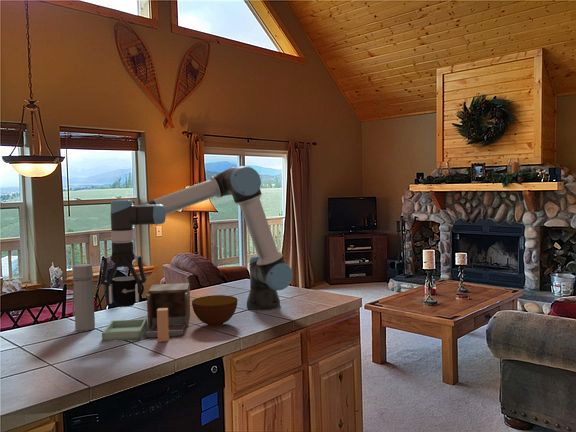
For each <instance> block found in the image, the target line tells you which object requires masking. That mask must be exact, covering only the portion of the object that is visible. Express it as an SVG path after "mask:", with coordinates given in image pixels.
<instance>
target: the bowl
mask: <svg viewBox="0 0 576 432" xmlns="http://www.w3.org/2000/svg"><path fill="white" fill-rule="evenodd" d="M238 301H239V299H238V298H237V297H235V296H232V295H223V294H216V295H205V296H198V297H197V298H195V299H192V301H191V307H192V310H193V313H194V314H195V316H196V318H197V319H198V320H199V321H200V322H202V323H204V324H206V325H207V327H208V328H210V329H211V328H212V329H215V328H221V327H224V324H225V323H227V322H228V321H229V320H231V318H232V317H233V316H234V314H235V312H236V310H237V308H238Z"/></svg>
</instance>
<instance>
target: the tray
mask: <svg viewBox="0 0 576 432" xmlns="http://www.w3.org/2000/svg"><path fill="white" fill-rule="evenodd" d="M146 329H148V318H140V319H139V318H138V319H117V320H111V321H110V322H109V324H108V325H107V326H106V328H105V329H104V330H103V331H102V333H101V341H102V342H111V341H112V342H114V340H118V341H131V340H133V341H134V340H135V341H136V340H142V337H143V335H144V334H145V332H146V331H147V330H146Z"/></svg>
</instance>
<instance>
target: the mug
mask: <svg viewBox="0 0 576 432" xmlns="http://www.w3.org/2000/svg"><path fill="white" fill-rule="evenodd" d="M111 283H112V284H111V285H112V286H113V302H114V304H115V305H116V307H119V308H127V307H128V308H129V307H132V306H134V305H135V304H136V295H135V285H136V284H137V282H136V280H135V279H134V277H133V276H117V277H113V279H112V281H111ZM143 284H144V283H142V284H141V287H142V291H141V293H139V298H140V297H141V296H142V295H143V293H144V291H145V287H144V285H143Z"/></svg>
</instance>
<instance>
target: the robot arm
mask: <svg viewBox="0 0 576 432" xmlns="http://www.w3.org/2000/svg"><path fill="white" fill-rule="evenodd" d="M261 179H262V178H261V176H260V174H259V172H258V171H257V170H256V169H255V168H252V167H250V166H246V165H239V166H234V167H233V166H232V167H230V168H227V169H225V170H223V171H222V172H221V171H220V172H219V173H216V174H215V175H212V176H210V177H209V179H208V180H205V181H202V182H198V183H196V184H194V185H191V186H188V187H185V188H182V189H179V190H177V191H174V192H172V193H169V194H168V193H167V194H166V195H163V196H161V197H160V196H159V197H157V198H154V199H152V200H148V201H146V202H141V203H138V204H133V201H132V200H131V199H116V200H115V199H113V200H112V201H111V203H110V228H111V230H110V233H111V234H110V235H111V236H110V237H111V255H110V256H105V257H103V259H102V260H103V267H102V272H101V273H102V274H101V277H100V282H99V283H100V284H101V285H105V293H106V295H108V296H109V297H108V300H109V301H108V302H109V304H112V303H114V295H113V286H112V284H111V283H112V279H113V278H115V274H116V273H117V270H118V268H122V267H124V268H128V270H129V271H130V273H131V275H132V277H134V279H135V280H136V282H137V284H136V285H135V295H136V301H135V303H139V302H140V297H139V294H140V293H141V291H142V287H141V284H145V283H146V281H147V276H146V273H145V269H144V265H143V255H135V253H134V242H133V240H134V232H133V231H134V230H133V229H134V227H133V226H138V225H140V226H142V225H144V226H145V225H146V226H147V225H161V224H164V223H165V222H166V219H167V217H166V216H167V215H170V214H172V213H175V212H178V211H181V210H183V209H185V208H188V207H191V206H194V205H197V204H200V203H202V202H204V201H208V200H209V199H213V198H218V199H219V198H223V197H226V196H232V198H233V202H234V203H235V204H236V205H238V206H240V207H239V208H240V210H241V213H242V215H243V218H244V221H245V224H246V226H247V229H248V233H249V236H250V237H251V241H252V243H253V247H254V249H255V252H256V255H257V256H251V257H250V259H249V264H248V265H249V287H250V290H249V293H248V297H247V299H246V308H248V309H250V310H254V311H255V310H257V311H266V310H267V311H268V310H269V311H270V310H274V309H277V308H279V307H281V299H280V297H279V294H278V291H283V290H285V289H286V288H288V287H289V286H290V285H291V282H292V280H293V276H294V275H293V274H294V273H293V269H292V268H291V266H290V265H289V264H287V263H286V260H285V257H284V255H283V253H281V252H280V251H278V248H277V245H276V243H275V240H274V236H273V234H272V231H271V228H270V225H269V222H268V220H267V217H266V213H265V211H264V207H263V205H262V202H261V196H262V195H263V194H262V189H261V184H262V180H261ZM134 260H135V263H137V266H138V267H137V268H138V270H139V273H138V272H137V270H136V268H135V266H134V264H133V261H134ZM111 261H112V262H113V264H114V265H113V266H112V270H111V271H110V274H109V276H108V270H109V263H110V262H111ZM139 274H140V275H139ZM107 276H108V278H107Z"/></svg>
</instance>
